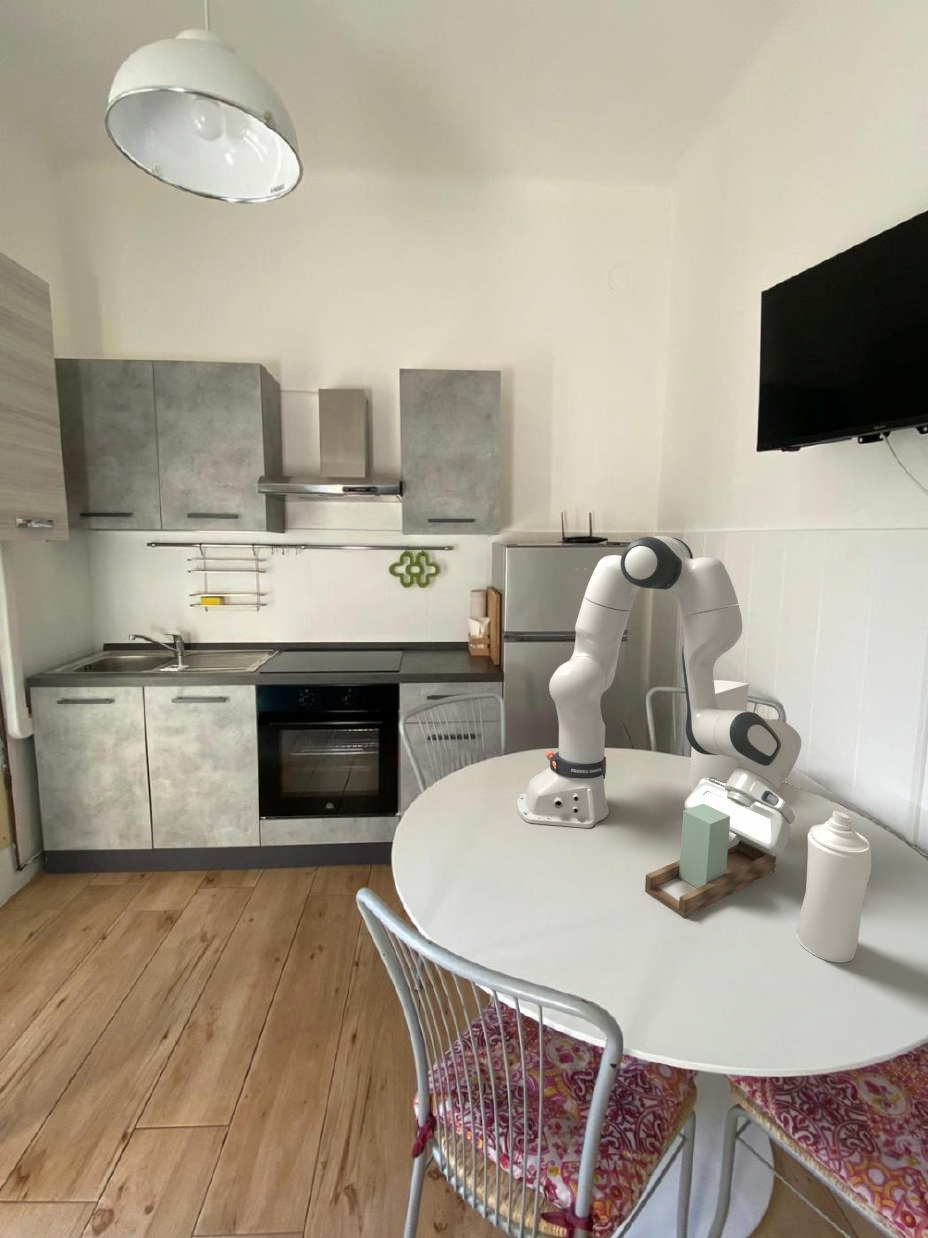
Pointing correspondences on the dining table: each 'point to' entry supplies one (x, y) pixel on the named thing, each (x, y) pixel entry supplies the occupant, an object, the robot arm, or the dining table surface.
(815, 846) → the spray can
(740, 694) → the cylinder
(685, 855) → the block
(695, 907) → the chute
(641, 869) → the dining table surface
